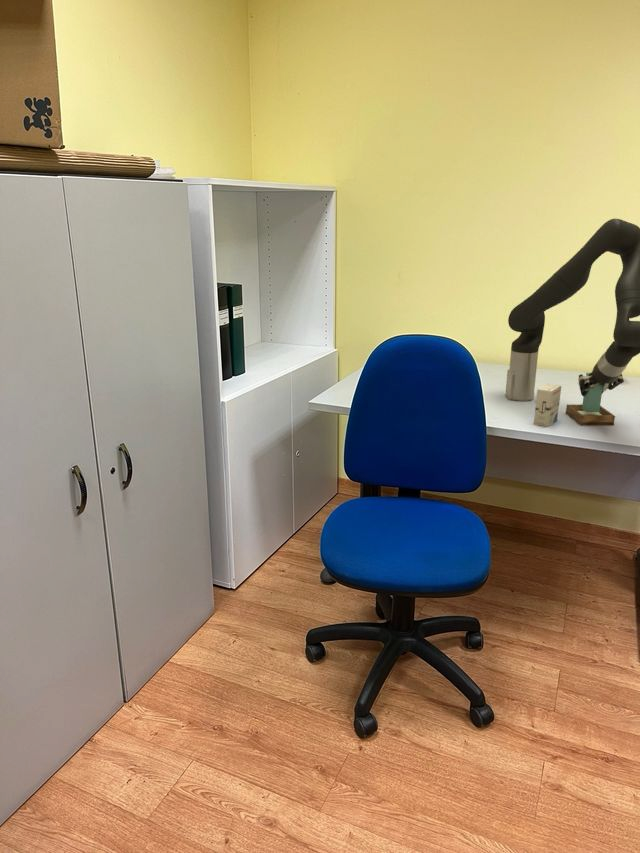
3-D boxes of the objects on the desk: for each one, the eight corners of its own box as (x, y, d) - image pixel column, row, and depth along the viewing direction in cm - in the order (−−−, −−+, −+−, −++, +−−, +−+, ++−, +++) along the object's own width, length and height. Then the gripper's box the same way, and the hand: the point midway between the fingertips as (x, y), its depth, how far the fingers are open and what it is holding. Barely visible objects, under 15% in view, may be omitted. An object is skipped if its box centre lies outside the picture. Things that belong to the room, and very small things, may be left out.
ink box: (542, 417, 209) (546, 382, 205) (558, 420, 206) (562, 385, 202) (532, 424, 203) (536, 388, 199) (548, 427, 200) (552, 391, 196)
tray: (579, 425, 201) (581, 416, 200) (565, 413, 213) (566, 404, 212) (613, 425, 201) (615, 416, 200) (597, 412, 213) (598, 404, 212)
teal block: (586, 412, 204) (591, 375, 201) (581, 408, 208) (586, 372, 204) (599, 412, 204) (604, 375, 201) (594, 408, 208) (599, 372, 204)
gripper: (632, 354, 193) (609, 383, 208) (584, 355, 193) (565, 383, 208) (637, 376, 190) (614, 403, 205) (589, 376, 190) (569, 404, 205)
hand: (589, 393), depth 207 cm, fingers closed on teal block, 4 cm apart
